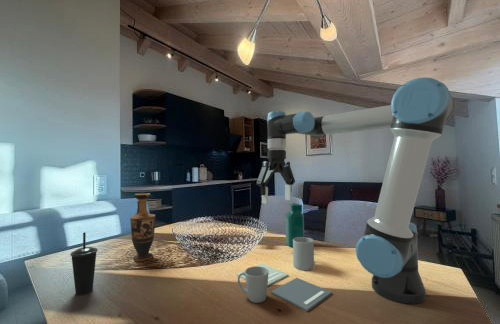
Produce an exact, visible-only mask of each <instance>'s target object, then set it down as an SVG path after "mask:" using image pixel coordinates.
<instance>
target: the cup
mask: <svg viewBox="0 0 500 324" xmlns="http://www.w3.org/2000/svg"><path fill="white" fill-rule="evenodd" d="M243 271H244V272H242V271H241V272H242V273H240V272H239V273H240V274H239V276H237V284H238V287H239V289H240V290H241V291H242V292H243V293H244V294H246V295H247V298H248V300H249V301H250V302H251V303H256V304H260V303H263V302H264V301H266V300H267V293H268V287H269V286H268V273H269V271H268V269H266V268H264V267H259V266H257V265H256V266H250V267H248V268H246V269H245V270H243ZM241 275H244V276H245V279H246V280H245V286H246V288H245V287H244V286H243V285H242V284H241V281H240V276H241Z"/></svg>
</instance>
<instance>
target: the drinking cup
mask: <svg viewBox="0 0 500 324" xmlns="http://www.w3.org/2000/svg"><path fill="white" fill-rule="evenodd" d="M98 251H99V250H98V248H97V247H93V246H86V232H83V233H82V247H79V248H77V249H75V250H74V251H71V252H70V257H71V263H72V273H73V282H74V290H75V295H76V296H84V295H87V294H89V293H91V292H92V291H93V289H94V280H95V272H96V271H95V270H96V262H97V252H98Z"/></svg>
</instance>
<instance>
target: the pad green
mask: <svg viewBox="0 0 500 324" xmlns="http://www.w3.org/2000/svg"><path fill="white" fill-rule="evenodd" d="M256 266H259V267H264V268H266V269H268V271H269V273H268V286H267V287H269V286H270V285H273V284H274V283H277V282H279V281H280V280H283V279H284V278H287V277H288V276H289V273H286V272H285V271H284V272H283V271H282V270H279V269H277V268H273V267H271V266H269V265H266V264H264V263H260V264H257V265H256ZM244 271H245V270H243V271H241V272H237V273H236V275H237V277H238V276H239V274H240V273H242V272H244ZM240 278H241V279H242V280H245V281H246V279H245V276H244V275H241V276H240Z"/></svg>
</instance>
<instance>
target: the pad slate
mask: <svg viewBox="0 0 500 324" xmlns="http://www.w3.org/2000/svg"><path fill="white" fill-rule="evenodd" d="M270 294H271V295H274V296H275V297H277V298H279V299H281V300H283V301H285V302H287V303H289V304H291V305H293V306H295V307H297V308H298V309H300V310H302V311H304V312H310V310H312V309H313V308H315V307H316V306H317V305H319V304H320V303H321V302H323V301H324V300H325V299H327V298H328V297H330V296H331V295H332V294H333V293H332V291H330V290H328V289H326V288H323V287H320V286H319V285H316V284H313V283H311V282H308V281H306V280H303V279H301V278H298V277H295V278H293V279H291V280H290V281H288V282H286V283H284V284H282V285H280V286H279V287H276V288H274V289H273V290H271V291H270Z"/></svg>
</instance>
